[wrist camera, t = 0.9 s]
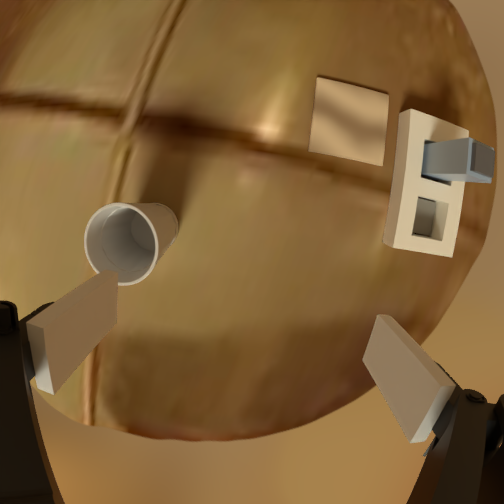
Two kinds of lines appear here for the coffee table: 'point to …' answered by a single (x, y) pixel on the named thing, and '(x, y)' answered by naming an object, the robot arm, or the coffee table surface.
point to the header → (422, 190)
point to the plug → (458, 161)
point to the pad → (349, 122)
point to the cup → (129, 238)
